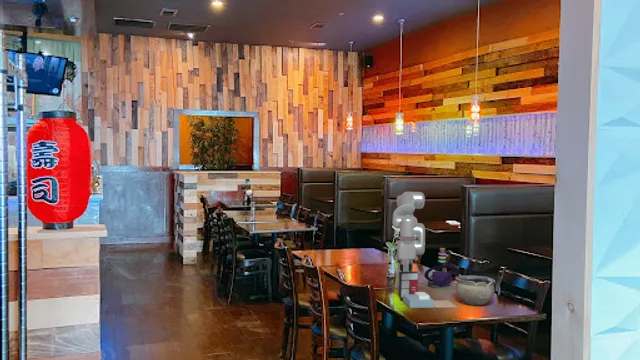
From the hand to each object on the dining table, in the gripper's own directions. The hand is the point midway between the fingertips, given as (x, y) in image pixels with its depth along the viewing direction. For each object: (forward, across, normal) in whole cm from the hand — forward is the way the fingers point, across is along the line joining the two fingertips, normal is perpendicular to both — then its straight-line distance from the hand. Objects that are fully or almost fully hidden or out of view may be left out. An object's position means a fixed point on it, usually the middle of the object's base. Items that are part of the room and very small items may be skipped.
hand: (405, 270), depth 319 cm
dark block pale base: (+20, -7, -17) cm, 27 cm away
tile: (+15, -10, 0) cm, 18 cm away
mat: (+19, -22, 0) cm, 29 cm away
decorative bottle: (+20, -38, -46) cm, 63 cm away
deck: (+19, -8, 0) cm, 21 cm away
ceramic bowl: (+20, -42, -1) cm, 46 cm away
